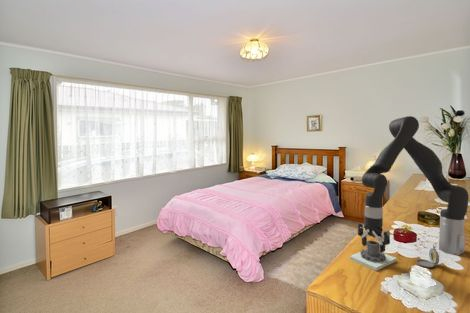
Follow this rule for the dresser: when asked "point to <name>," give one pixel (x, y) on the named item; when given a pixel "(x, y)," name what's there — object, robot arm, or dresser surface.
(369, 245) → the planet gear
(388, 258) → the plate
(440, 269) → the dresser surface
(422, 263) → the pocket watch
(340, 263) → the dresser surface
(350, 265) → the dresser surface
